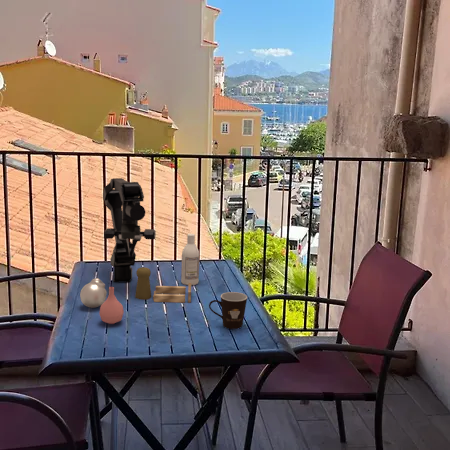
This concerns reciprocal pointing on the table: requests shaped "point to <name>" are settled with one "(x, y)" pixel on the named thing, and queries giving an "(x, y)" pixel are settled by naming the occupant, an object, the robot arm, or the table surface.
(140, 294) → the cork
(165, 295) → the cradle
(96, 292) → the silver christmas ornament
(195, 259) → the bath foam
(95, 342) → the table surface
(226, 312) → the coffee mug
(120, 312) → the pink bulb vase
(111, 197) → the robot arm
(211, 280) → the table surface
